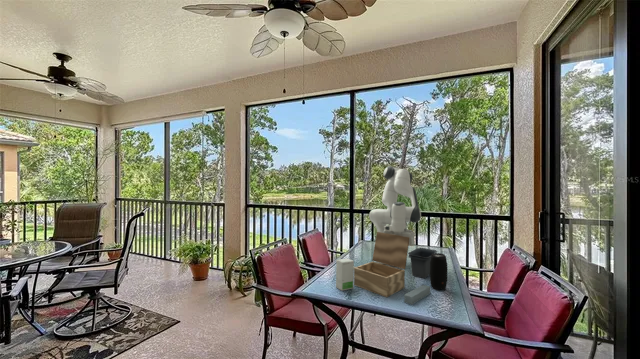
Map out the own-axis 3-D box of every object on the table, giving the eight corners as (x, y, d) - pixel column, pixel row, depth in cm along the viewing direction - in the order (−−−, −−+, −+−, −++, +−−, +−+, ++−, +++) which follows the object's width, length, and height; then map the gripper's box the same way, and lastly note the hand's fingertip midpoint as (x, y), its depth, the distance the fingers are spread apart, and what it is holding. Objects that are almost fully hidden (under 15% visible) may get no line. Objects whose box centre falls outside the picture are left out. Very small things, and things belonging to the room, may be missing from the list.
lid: (372, 260, 168) (373, 260, 169) (404, 269, 152) (405, 269, 153) (376, 231, 171) (377, 231, 172) (408, 237, 155) (409, 237, 156)
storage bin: (427, 281, 163) (427, 257, 163) (403, 274, 174) (403, 252, 174) (438, 272, 179) (439, 250, 179) (415, 267, 190) (416, 246, 190)
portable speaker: (448, 292, 147) (448, 257, 147) (430, 290, 150) (430, 255, 150) (445, 286, 155) (446, 253, 155) (428, 284, 158) (429, 252, 158)
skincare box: (341, 291, 147) (341, 262, 147) (335, 286, 153) (335, 259, 153) (354, 288, 151) (354, 260, 151) (347, 284, 157) (347, 257, 157)
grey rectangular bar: (423, 291, 148) (423, 284, 148) (430, 294, 145) (430, 286, 146) (404, 302, 135) (404, 294, 135) (411, 305, 132) (411, 297, 132)
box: (372, 277, 168) (372, 261, 168) (404, 288, 152) (404, 270, 152) (353, 284, 156) (354, 267, 156) (386, 297, 140) (386, 278, 140)
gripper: (416, 229, 163) (416, 252, 162) (387, 225, 177) (387, 246, 177) (411, 231, 158) (411, 254, 158) (381, 226, 173) (381, 248, 173)
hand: (398, 250), depth 168 cm, fingers closed
